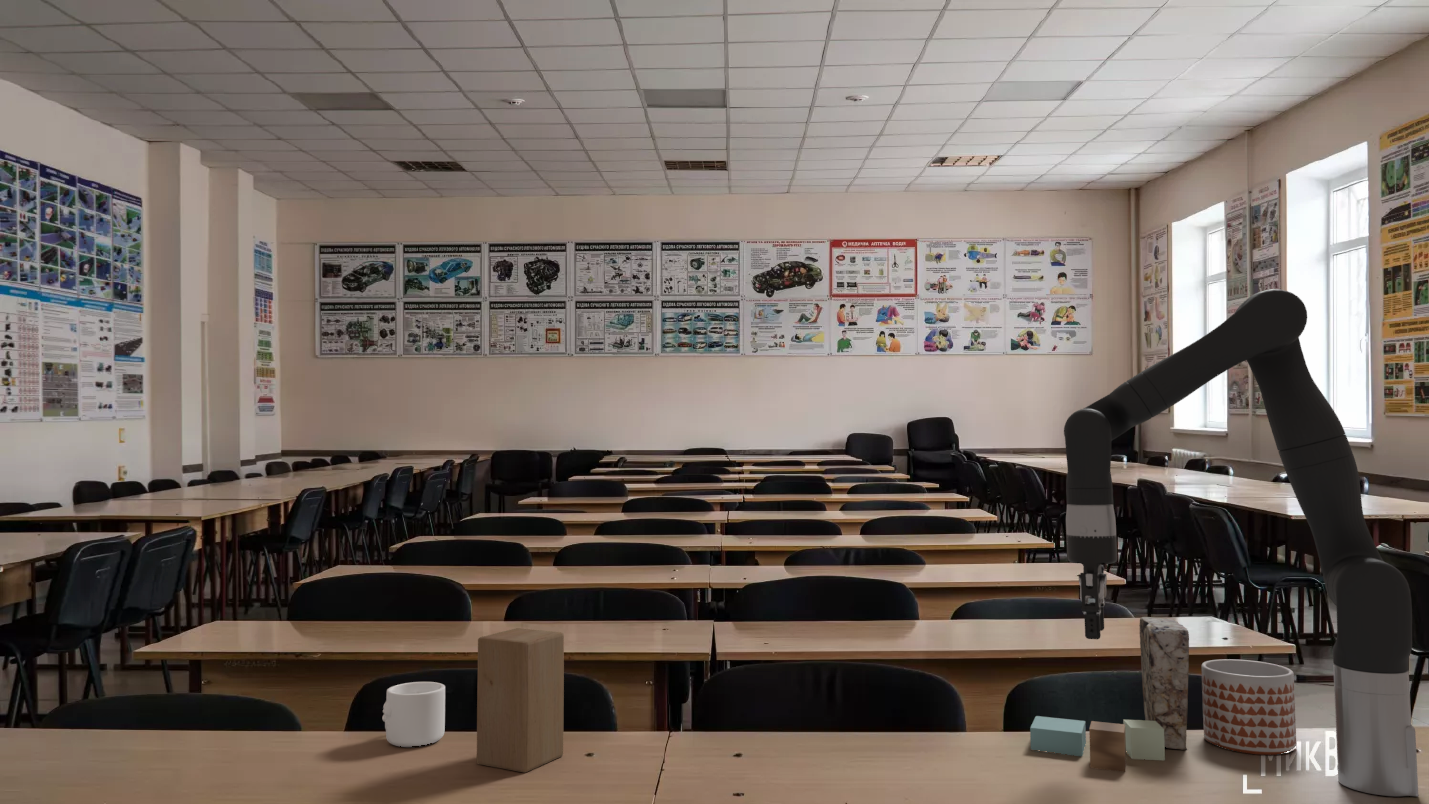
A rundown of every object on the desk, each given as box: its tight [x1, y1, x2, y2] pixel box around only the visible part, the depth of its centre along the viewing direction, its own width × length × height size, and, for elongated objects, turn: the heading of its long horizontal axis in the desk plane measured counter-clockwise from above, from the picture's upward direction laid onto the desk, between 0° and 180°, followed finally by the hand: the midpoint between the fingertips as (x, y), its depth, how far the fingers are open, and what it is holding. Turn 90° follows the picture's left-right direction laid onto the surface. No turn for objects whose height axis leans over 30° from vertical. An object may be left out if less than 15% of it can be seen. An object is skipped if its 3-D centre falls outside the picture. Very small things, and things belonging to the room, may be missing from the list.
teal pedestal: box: [1029, 715, 1087, 757], centre depth 162 cm, size 8×8×4 cm
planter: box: [1201, 658, 1297, 756], centre depth 163 cm, size 14×14×13 cm
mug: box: [382, 681, 446, 748], centre depth 167 cm, size 12×10×9 cm
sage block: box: [1122, 719, 1166, 761], centre depth 157 cm, size 5×5×5 cm
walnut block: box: [1088, 720, 1127, 773], centre depth 152 cm, size 5×5×6 cm
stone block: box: [1139, 616, 1190, 751], centre depth 166 cm, size 13×7×20 cm, turn 171°
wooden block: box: [476, 627, 565, 774], centre depth 156 cm, size 10×10×20 cm
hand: (1095, 634), depth 155 cm, fingers open, 8 cm apart
